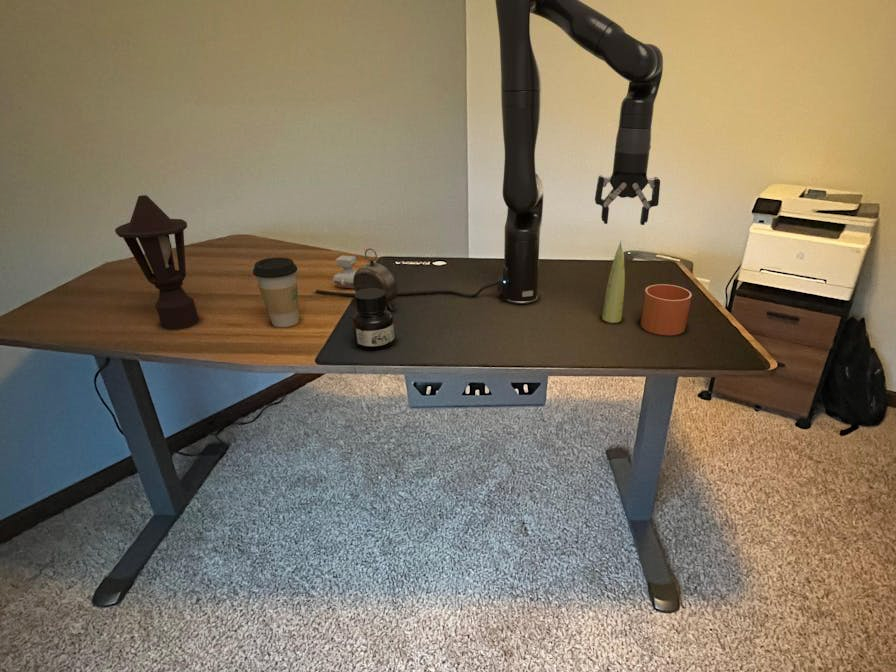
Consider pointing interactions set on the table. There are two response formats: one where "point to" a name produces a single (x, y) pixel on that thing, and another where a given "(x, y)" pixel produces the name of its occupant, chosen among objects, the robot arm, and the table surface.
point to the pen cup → (665, 309)
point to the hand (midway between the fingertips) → (623, 223)
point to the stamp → (345, 271)
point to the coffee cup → (278, 289)
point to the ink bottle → (372, 320)
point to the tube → (615, 289)
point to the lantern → (161, 260)
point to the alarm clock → (375, 279)
